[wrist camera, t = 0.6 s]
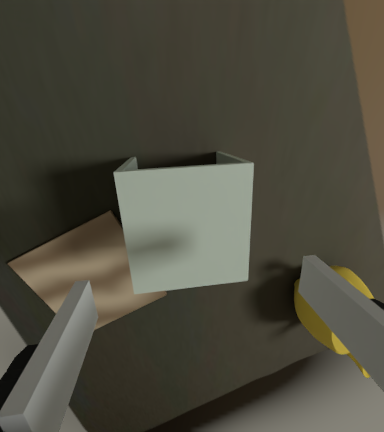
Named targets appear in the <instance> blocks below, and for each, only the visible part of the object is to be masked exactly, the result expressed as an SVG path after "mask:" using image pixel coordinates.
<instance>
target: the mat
mask: <svg viewBox="0 0 384 432" xmlns="http://www.w3.org/2000/svg"><path fill="white" fill-rule="evenodd" d="M8 265H9V266H10V267H11V268H12V269H13V270H14V271H15V272H16V273H17V274H18V275H19V276H20V277H21V278H22V279H23V280H24V281H25V282H26V283H27V284H28V285H29V286H30V287H31V288H32V289H33V290H34V291H35V292H36V293H37V295H38V296H39V297H40V298H41V299H42V300H43V301H44V302H45V303H46V304H47V305H48V306H49V307H50V308H51V309H52V310H53V311H54V312H55V313H56V314H57V312H58V310H59V309H60V307H61V305H62V303H63V302H64V300H65V298H66V297H67V295H68V293H69V291H70V290H71V288H72V286H73V285H74V283H75V281H84V280H89V281H90V285H91V289H92V294H93V298H94V302H95V306H96V310H97V314H98V319H97V322H96V325H95V328H94V330H95V329H97V328H99V327H101V326H103V325H105V324H107V323H109V322H112V321H114V320H116V319H118V318H120V317H122V316H124V315H126V314H128V313H130V312H132V311H134V310H136V309H138V308H140V307H142V306H145V305H147V304H149V303H151V302H153V301H155V300H157V299H159V298H161V297H163V296H165V295H167V292H166V291H158V292H150V293H142V294H134V290H133V284H132V278H131V273H130V267H129V261H128V255H127V249H126V243H125V238H124V232H123V227H122V225H121V224H120V223H119V221H118V220H117V218H116V217H115V215H114V214H113V212H112V211H111V210H110V211H108V212H106V213H104V214H102V215H100V216H98V217H96V218H94V219H92V220H90V221H88V222H86V223H84V224H82V225H80V226H78V227H76V228H74V229H72V230H70V231H69V232H67V233H65V234H63V235H61V236H59V237H57V238H55V239H53V240H51V241H49V242H47V243H45V244H43V245H41V246H39V247H37V248H35V249H33V250H31V251H29V252H27V253H25V254H23V255H21V256H20V257H18V258H16V259H14V260H12V261H10V262H9V263H8Z"/></svg>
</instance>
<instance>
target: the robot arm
mask: <svg viewBox="0 0 384 432" xmlns="http://www.w3.org/2000/svg"><path fill="white" fill-rule="evenodd" d="M298 292H299V293H300V294H301V296H302V297H303V298H304V299H305V300H306V301H307V303H308V304H309V305H310V306H311V307H312V308H313V310H314V311H315V312H316V313H317V314H318V315H319V317H320V318H321V319H322V320H323V321H324V322H325V324H326V325H327V326H328V327H329V328H330V330H331V331H332V332H333V333H334V334H335V335H336V337H337V338H338V339H339V340H340V341H341V342H342V344H343V345H344V346H345V347H346V348H347V349H348V351H349V352H350V353H351V354H352V355H353V356H354V358H355V359H356V360H357V361H358V362H359V363H360V365H361V366H362V367H363V368H364V369H365V370H366V372H367V373H368V374H369V375H370V376H371V377H372V379H374V381H375V382H376V383H377V384H378V386H379V387H380V388H381V389H382V390H383V391H384V303H382V302H380V301H378V300H376V299H374V298H372V299H369V298H368V297H366V296H365V295H364V294H363V293H361V292H360V291H359V290H358V289H356V288H355V287H354V286H353V285H351V284H350V283H349V282H348V281H346V280H345V279H344V278H343V277H341V276H340V275H339V274H338V273H336V272H335V271H334V270H333V269H331V268H330V267H329V266H328V265H327V264H325V263H324V262H323V261H322V260H320V259H319V258H318V257H317V256H315V255H311V256H303V263H302V270H301V277H300V283H299V290H298ZM97 319H98V314H97V310H96V306H95V302H94V298H93V294H92V289H91V285H90V281H89V280H84V281H75V283H74V285H73V286H72V288H71V290H70V291H69V293H68V295H67V297H66V298H65V300H64V302H63V303H62V305H61V307H60V309H59V310H58V312H57V314H56V316H55V317H54V319H53V321H52V322H51V324H50V326H49V328H48V329H47V331H46V333H45V334H44V336H43V338H42V340H41V341H40V343H39V344H35V345H28V346H26V347H25V349H24V350H22V351H21V352H20V353H19V354H18V355H17V356H16V357H15V358H14V360H13V361H12V363H11V364H10V366H9V368H8V369H7V372H6V373H5V374H4V375H3V377H2V378H1V380H0V432H59V430H60V427H61V424H62V421H63V418H64V415H65V412H66V409H67V407H68V404H69V401H70V398H71V395H72V392H73V389H74V386H75V383H76V380H77V378H78V375H79V372H80V369H81V366H82V363H83V360H84V357H85V354H86V351H87V349H88V346H89V343H90V340H91V337H92V334H93V331H94V328H95V325H96V322H97Z"/></svg>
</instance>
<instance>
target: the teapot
mask: <svg viewBox="0 0 384 432" xmlns="http://www.w3.org/2000/svg"><path fill="white" fill-rule="evenodd" d="M330 268H331V269H333V270H334V271H335V272H336V273H338V274H339V275H340V276H341V277H343V278H344V279H345V280H346V281H348V282H349V283H350V284H351V285H353V286H354V287H355V288H356V289H358V290H359V291H360V292H361V293H363V294H364V295H365V296H366V297H368V298H369V299H372V298H374V297H373V296H372V294H371V293H370V291H369V290H368V288H367V287H366V285H365V284H364V283H363V282H362V281H361V279H360V278H359V277H358V276H357V275H355V274H354V273H353V272H352V271H351V270H349V269H347V268H345V267H340V266H330ZM299 283H300V279H297V280H296V281H295V283H294V286H295V289H294V304H295V310H296V313H297V316H298V318H299V320H300V321H301V323H302V324H303V325H304V327H305V328H306V329H307V330H308V331H309V332H310V333H311V334H312V335H313V336H314V337H315V338H316V339H317V340H318V341H320V342H321V343H322V344H324V345H325V346H327V347H328V348H330V349H331V350H333V351H334V352H336V353H338V354H347V355H348V356H349V357H350V358H351V359H352V360H353V361H354V362H355V363H356V364H357V366H358V367H359V369H360V370H361V372H362V373H363V375H364V376H365V377H366V378H369V377H370V375H369V374H368V373H367V372H366V370H365V369H364V368H363V367H362V366H361V365H360V363H359V362H358V361H357V360H356V359H355V358H354V356H353V355H352V354H351V353H350V352H349V351H348V349H347V348H346V347H345V346H344V345H343V344H342V342H341V341H340V340H339V339H338V338H337V337H336V335H335V334H334V333H333V332H332V331H331V330H330V328H329V327H328V326H327V325H326V324H325V322H324V321H323V320H322V319H321V318H320V317H319V315H318V314H317V313H316V312H315V311H314V310H313V308H312V307H311V306H310V305H309V304H308V303H307V301H306V300H305V299H304V298H303V297H302V296H301V294H300V293H299V292H298V290H299Z"/></svg>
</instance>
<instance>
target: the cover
mask: <svg viewBox="0 0 384 432" xmlns="http://www.w3.org/2000/svg"><path fill="white" fill-rule="evenodd" d="M253 169H254V163H253V162H250V161H247V160H244V159H241V158H238V157H235V156H232V155H229V154H226V153H223V152H216V164H211V165H196V166H181V167H166V168H151V169H138V167H137V160H136V157H131V158H130V159H128V160H127V161H126V162H125V163H124V164H123V165H121V166H120V167H119V168H118V169H117V170H116V171H114V172H113V173H114V179H115V185H116V191H117V197H118V202H119V208H120V214H121V220H122V226H123V232H124V238H125V243H126V249H127V255H128V261H129V267H130V273H131V278H132V284H133V290H134V294H142V293H150V292H158V291H166V290H174V289H183V288H191V287H199V286H207V285H215V284H224V283H232V282H240V281H248V269H249V249H250V229H251V209H252V189H253Z"/></svg>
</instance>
